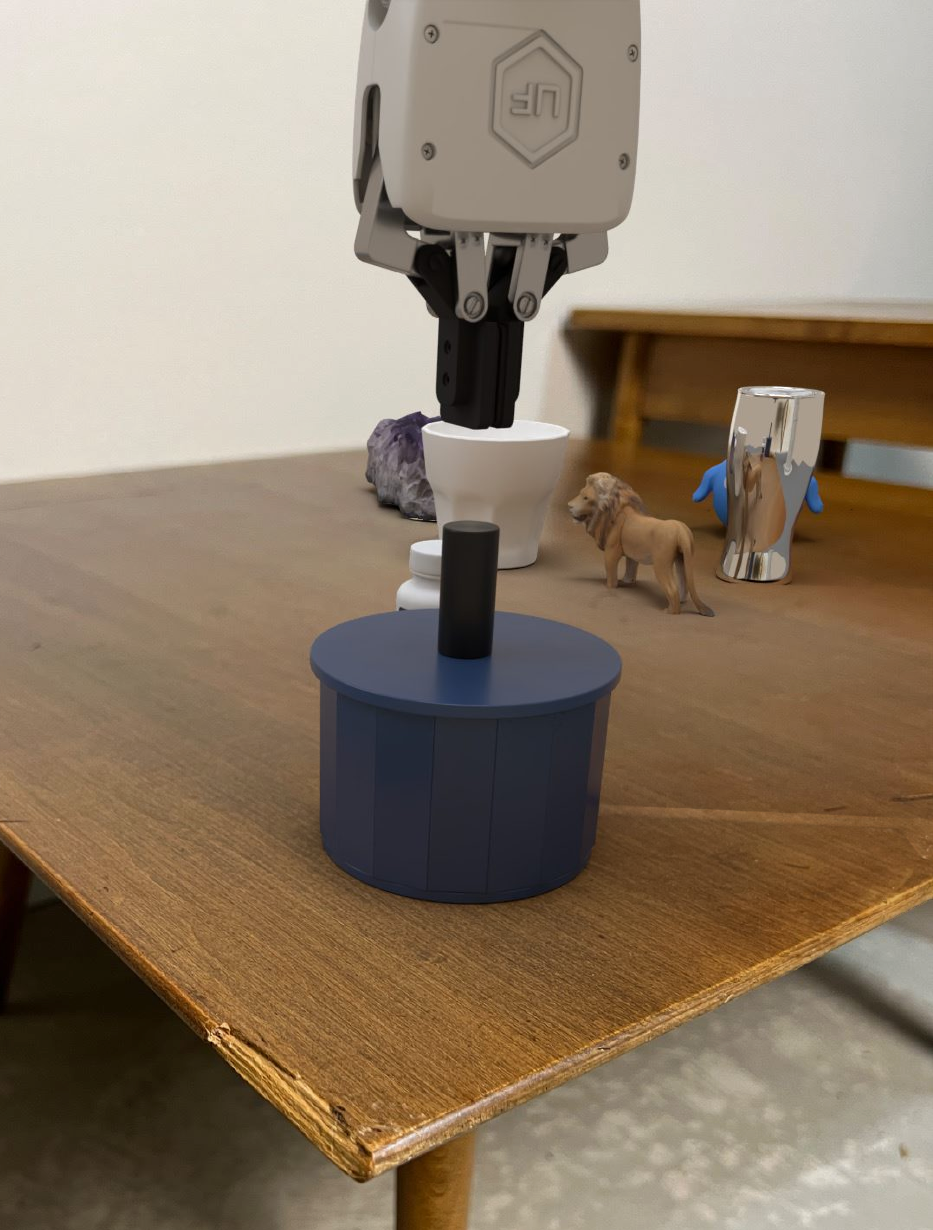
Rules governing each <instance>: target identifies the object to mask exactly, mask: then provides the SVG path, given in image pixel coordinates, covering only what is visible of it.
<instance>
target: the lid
mask: <svg viewBox="0 0 933 1230" xmlns="http://www.w3.org/2000/svg"><path fill="white" fill-rule="evenodd" d="M499 536H500V528H499V526H498V525H496V524H493V523H489V522H483V521H472V520H464V521H453V522H449V523H446V524H444V525H443V533H442V556H441V578H440V601H439V608H435V609H413V610H402V611H396V610H394V611H393V610H392V611H387V612H381V613H375V614H369V615H365V616H361V617H358V618H354V619H349V620H346V621H344V622H341V623H338V624H336V625H333V626H332V627H329V628H328V629H326V630H325V631H323V632H322V633H320V634H319V635H318V636H316V638H315V639H314V640H313V642H312V644H311V645H310V649H309V666H310V669H311V671H312V673H313V675H314V676H315V677H316V678H317V679H318V680H319V682H320V681H321V682H322V683H323V684H325V685H326V686H328V687H329V688H331V689H332V690H334V691H336V692H338V693H340V694H342V695H345V696H347V697H349V698H352V699H355V700H357V701H360V702H363V703H366V704H370V705H373V706H377V707H381V708H385V709H390V710H394V711H399V712H405V713H411V714H417V715H424V716H433V717H442V718H457V719H512V718H524V717H534V716H541V715H549V714H554V713H559V712H564V711H569V710H572V709H576V708H579V707H583V706H586V705H588V704H591V703H593V702H596V701H598V700H600V699H601V698H603V697H605V696H607V695H608V694H609V693H610V692H611V693H612V692H613V691H614V690H615V689H616V688H617V686H618V685H619V684H620V682H621V677H622V671H623V661H622V658H621V657H622V656H621V655H620V653H619V652H618V650H617V649H616V648H615V647H614V646H613V645H612V644H611V643H609V642H607V641H606V640H604V639H603V638H601V637H600V636H597V634H594V633H592V632H590V631H587V630H585V629H582V628H579V627H578V626H577V627H576V626H573V625H570V624H567V623H564V622H561V621H557V620H553V619H549V618H544V617H540V616H535V615H529V614H523V613H517V612H511V611H501V610H496V597H497V582H498V581H497V580H498V569H497V567H498V552H499Z"/></svg>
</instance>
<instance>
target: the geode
mask: <svg viewBox="0 0 933 1230" xmlns="http://www.w3.org/2000/svg"><path fill="white" fill-rule="evenodd" d="M439 421H442V419H441V417H440V415H436V416H433V417H429V416H427V415H425V414H424V413H422V411H421V410H419V411H415V412H412V413H409V414H406V415H404V416H402V417H400V418H397V419H393V418H383V419H381V420H380V421H379V422H378V423H377V425H376V426H375V428H374V429H373V431H372V433H371V435H369V437H368V439H367V441H366V449H367V453H368V456H367V463H366V470H365V473H364V475H365V479H366V481H367V483H369V484H372V485H373V486H374V487H375V492H374V493H376V495H377V502H378V504H387V505H388V504H389V505H392V506H396V507H399V511H400V513H401V515H402V516H403V518H405V519H409V518H418V519H423V520H437V517H436V510H435V502H434V495H433V491H432V488H431V486H430V484H429V481H428V479H427V477H426V469H425V459H424V449H423V439H422V427H424V426H425V425H427V424H428V423H433V422H439ZM423 520H422V521H423Z"/></svg>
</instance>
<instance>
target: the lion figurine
mask: <svg viewBox="0 0 933 1230" xmlns="http://www.w3.org/2000/svg"><path fill="white" fill-rule="evenodd" d="M585 482H586V484H585V487H583V488H582V489H580V492H579V494H578V495H577V496H576V497H574V498H573V499H571V500H570V501H568V502H567V507H568V510H569V512H570V513H571V514H572V522H573V524H575V525H580V524H583V527H584V530H585V533H587V534H588V535H589V536H591V537H592V538H593V539H594V543H595V547H596V548H597V549H598V550H600V551H602V552H604V569H605V575H606V583H602V584H601V586H602V587H605V588H609V589H615V588H618V583H619V578H618V576H619V575H618V569H619V564H620V562H621V560H622V558H623V557H625V570H624V575H623V577H622V579H621V582H622V583H627V584H635V583H636V581H637V575H638V569H639V564H641V565H645V566H652V568H653V571H654V575H655V578H656V580H657V583H658V584H659V586H660V587H661V590H663V592H664V594H665V596H666V598H667V600H668V601H667V602H668V604H669V606H668V607H665V608H664V609H662V612H663V613H665V614H668V615H680V614H681V603H687V599H688V595H689V597H690V599H691V602H692V603H693V604H694V606H695V608H696V610H697V611H698V612H699V613H700V614H701V615H702V616H707V617H714V616H715V612H714V610H713V609H711V607H709V606H708V605H706V603H704V602H703V601H702V600H701V599H700V598H699V596H698V593H697V591H696V585H695V579H694V571H693V570H694V568H693V557H694V555H695V554H694V553H695V538H694V535H693V533H692V530H691V529H690V528H689V527H688V525H686V523H684V522H682V521H680V520H676V519H665V520H664V519H658V518H655V517H654V516H651V515H650V514H649V512H648V511H647V509H646V506H645V502H644V501H643V499H642V497H641V496H640V494H639V493H638V492H637V491H634V490H633V487H632V486H631V485H629V484H628V483H626V482H625V481H624V480H622V479H620V478H619V477H618V476H617V475H616V476H614V475H612V474H611V473H608V472H596V473H593V474H590V475H588V477H585ZM674 566H675V571H676V575H677V580H678V585H677V583H676V581H675V577H674V571H673V569H674V568H673V567H674Z"/></svg>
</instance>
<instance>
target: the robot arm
mask: <svg viewBox="0 0 933 1230" xmlns="http://www.w3.org/2000/svg"><path fill="white" fill-rule="evenodd" d="M362 19H363V21H362V26H361V35H360V44H359V53H358V61H357V73H356V86H355V97H354V110H353V133H352V154H351V155H352V157H351V158H352V160H351V161H352V167H351V168H352V173H351V176H352V178H351V179H352V193H353V200H354V206H355V208H356V212H358V214H359V215H360V216H359V219H358V225H357V230H356V233H355V239H354V242H353V250H354V251H353V252H354V255H355V257H356V258H357V260H359V261H360V262H362V263H365V264H368V265H372V266H373V267H374V266H375V267H378V268H381V269H384V270H386V271H390V272H394V273H399V274H401V275H405V276H406V278H407V279H408V280H409V282H410V283H411V284H412V285H413V287H414V289H415V290H416V291H417V292H418V293H419V294H420V296H421V297H422V298H423V300H424V301H425V307H426V311H427V312H428V314H429V315H430V316H431V317H433V318H435V319H438V324H437V325H438V326H437V346H436V347H437V348H436V372H435V373H436V375H435V396H436V400H437V402H438V403H439V416H440V417H441V419H442V421H443V422H446V423H450V424H454V425H457V426H461V427H465V428H469V429H472V430H483V429H488V428H489V427H492V428H496V429H502V428H510V427H512V425H513V422H514V420H515V413H516V409H515V408H516V402H517V401H518V399H519V397H520V391H521V379H522V378H521V377H522V363H523V349H524V336H525V322H527V323H528V322H531V321H533V320H534V319H535V318H536V317H537V315H538V314H539V311H540V308H541V305H542V300H543V299H544V297H546V295H547V294H548V293H549V292H550V291H551V289H552V288H554V286H556V283H558V282H559V280H560V279H561V278H562V276H565V275H571V274H574V273H577V272H581V271H584V270H587V269H590V268H593V267H596V266H600V265H601V264H603V263H604V262H605V261H606V260H607V259H608V255H609V248H610V247H609V239H608V231H611V230H613V229H615V228H617V227H618V226H620V225H621V224H623V223H624V221H625V220H626V219H628V216H629V214H630V212H631V207H632V203H633V198H634V192H635V191H634V190H635V183H636V173H637V161H638V149H639V148H638V146H639V136H640V135H639V133H640V132H639V131H640V112H641V111H640V109H641V78H642V77H641V76H642V18H641V0H365V6H364V13H363V18H362ZM408 232H419V238H420V239H419V238H417V237H413V236H412V235H410V234H409V233H408ZM485 234H488V239H487V243H486V244H487V245H486V248H485ZM555 234H559V236H558V237H556V238H555V239H554V237H555Z"/></svg>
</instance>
